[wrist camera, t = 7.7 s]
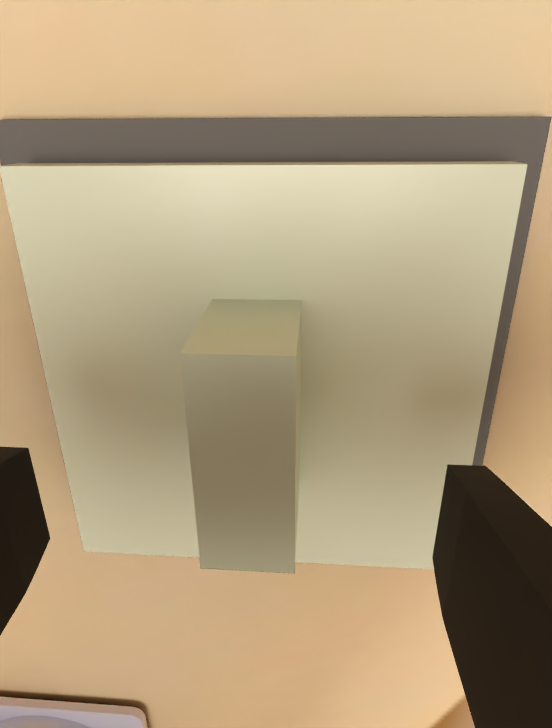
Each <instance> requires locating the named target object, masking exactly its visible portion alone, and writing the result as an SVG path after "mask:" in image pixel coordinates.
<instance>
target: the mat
mask: <svg viewBox="0 0 552 728" xmlns="http://www.w3.org/2000/svg"><path fill="white" fill-rule="evenodd" d="M550 122H551V117H381V118H194V119H7V120H0V163H1V166H3V165H10V164H17V163H206V162H448V161H515V162H520V163H524V164H528V165H527V170H526V175H525V181H524V186H523V192H522V197H521V203H520V208H519V214H518V219H517V224H516V230H515V235H514V241H513V246H512V252H511V257H510V263H509V268H508V273H507V279H506V284H505V290H504V295H503V301H502V306H501V311H500V317H499V322H498V328H497V333H496V339H495V344H494V350H493V355H492V360H491V366H490V371H489V377H488V382H487V388H486V393H485V399H484V404H483V409H482V415H481V420H480V426H479V431H478V437H477V442H476V448H475V453H474V458H473V464H472V465H475V466H482V463H483V458H484V453H485V448H486V443H487V438H488V433H489V428H490V423H491V418H492V413H493V408H494V403H495V398H496V393H497V388H498V383H499V378H500V373H501V368H502V363H503V358H504V353H505V348H506V343H507V338H508V333H509V328H510V323H511V318H512V313H513V308H514V303H515V298H516V293H517V288H518V283H519V278H520V273H521V268H522V263H523V257H524V252H525V247H526V242H527V237H528V232H529V227H530V222H531V217H532V212H533V207H534V202H535V197H536V192H537V187H538V182H539V177H540V172H541V167H542V162H543V157H544V152H545V147H546V142H547V137H548V132H549V127H550Z"/></svg>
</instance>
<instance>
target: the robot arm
mask: <svg viewBox="0 0 552 728" xmlns="http://www.w3.org/2000/svg"><path fill="white" fill-rule="evenodd" d="M49 540H50V536H49V531H48V527H47V523H46V519H45V515H44V511H43V507H42V503H41V499H40V494H39V490H38V486H37V482H36V478H35V474H34V470H33V466H32V462H31V457H30V453H29V449H28V448H15V447H0V635H1V633H2V631H3V630H4V628H5V627H6V625H7V623H8V622H9V620H10V618H11V617H12V615H13V613H14V612H15V610H16V608H17V607H18V605H19V603H20V602H21V600H22V598H23V596H24V595H25V593H26V591H27V589H28V587H29V585H30V582H31V580H32V578H33V576H34V574H35V572H36V570H37V568H38V565H39V563H40V561H41V558H42V556H43V554H44V551H45V549H46V547H47V544H48V542H49ZM432 559H433V565H434V571H435V577H436V583H437V589H438V595H439V600H440V606H441V611H442V617H443V620H444V624H445V627H446V631H447V634H448V638H449V641H450V645H451V648H452V651H453V655H454V658H455V662H456V665H457V668H458V672H459V675H460V679H461V682H462V685H463V689H464V692H465V695H466V699H467V702H468V705H469V708H470V712H471V715H472V718H473V722H474V725H475V728H552V527H551V526H550V525H549V524H548V523H547V522H546V521H545V520H544V519H542V518H541V517H540V516H539V515H538V514H537V513H536V512H535V511H534V510H533V509H532V508H531V507H530V506H528V505H527V504H526V503H525V502H524V501H523V500H522V499H521V498H520V497H519V496H518V495H517V494H516V493H515V492H513V491H512V490H511V489H510V488H509V487H508V486H507V485H506V484H505V483H504V482H503V481H502V480H501V479H499V478H498V477H497V476H496V475H495V474H494V473H493V472H492V471H491V470H489V469H488V468H487V467H486V466H475V465H449V464H447V470H446V476H445V483H444V489H443V495H442V501H441V507H440V513H439V519H438V526H437V532H436V538H435V544H434V550H433V556H432ZM0 728H147V722H146V717H145V714H144V712H143V711H142V710H141V709H139V708H137V707H131V706H117V705H104V704H91V703H78V702H65V701H52V700H38V699H25V698H12V697H0Z"/></svg>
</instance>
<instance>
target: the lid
mask: <svg viewBox="0 0 552 728" xmlns="http://www.w3.org/2000/svg"><path fill="white" fill-rule="evenodd" d="M527 165H528V164H524V163H520V162H515V161H448V162H206V163H17V164H10V165H3V166H0V174H1V179H2V183H3V188H4V192H5V197H6V201H7V206H8V210H9V215H10V219H11V224H12V228H13V233H14V238H15V242H16V247H17V251H18V256H19V260H20V265H21V269H22V274H23V278H24V283H25V287H26V292H27V296H28V301H29V306H30V310H31V315H32V319H33V324H34V328H35V333H36V337H37V342H38V346H39V351H40V355H41V360H42V364H43V369H44V374H45V378H46V383H47V387H48V392H49V396H50V401H51V405H52V410H53V414H54V419H55V423H56V428H57V433H58V437H59V442H60V446H61V451H62V455H63V460H64V464H65V469H66V473H67V478H68V482H69V487H70V491H71V496H72V501H73V505H74V510H75V514H76V519H77V523H78V528H79V532H80V537H81V541H82V546H83V550H84V552H100V553H119V554H139V555H158V556H178V557H197V558H200V568H201V569H220V570H239V571H257V572H276V573H295V563H314V564H333V565H352V566H372V567H391V568H411V569H430V570H434V565H433V559H432V556H433V550H434V544H435V538H436V532H437V526H438V519H439V513H440V507H441V501H442V495H443V489H444V483H445V476H446V470H447V464H449V465H472V464H473V458H474V453H475V448H476V442H477V437H478V431H479V426H480V420H481V415H482V409H483V404H484V399H485V393H486V388H487V382H488V377H489V371H490V366H491V360H492V355H493V350H494V344H495V339H496V333H497V328H498V322H499V317H500V311H501V306H502V301H503V295H504V290H505V284H506V279H507V273H508V268H509V263H510V257H511V252H512V246H513V241H514V235H515V230H516V224H517V219H518V214H519V208H520V203H521V197H522V192H523V186H524V181H525V175H526V170H527Z"/></svg>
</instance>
